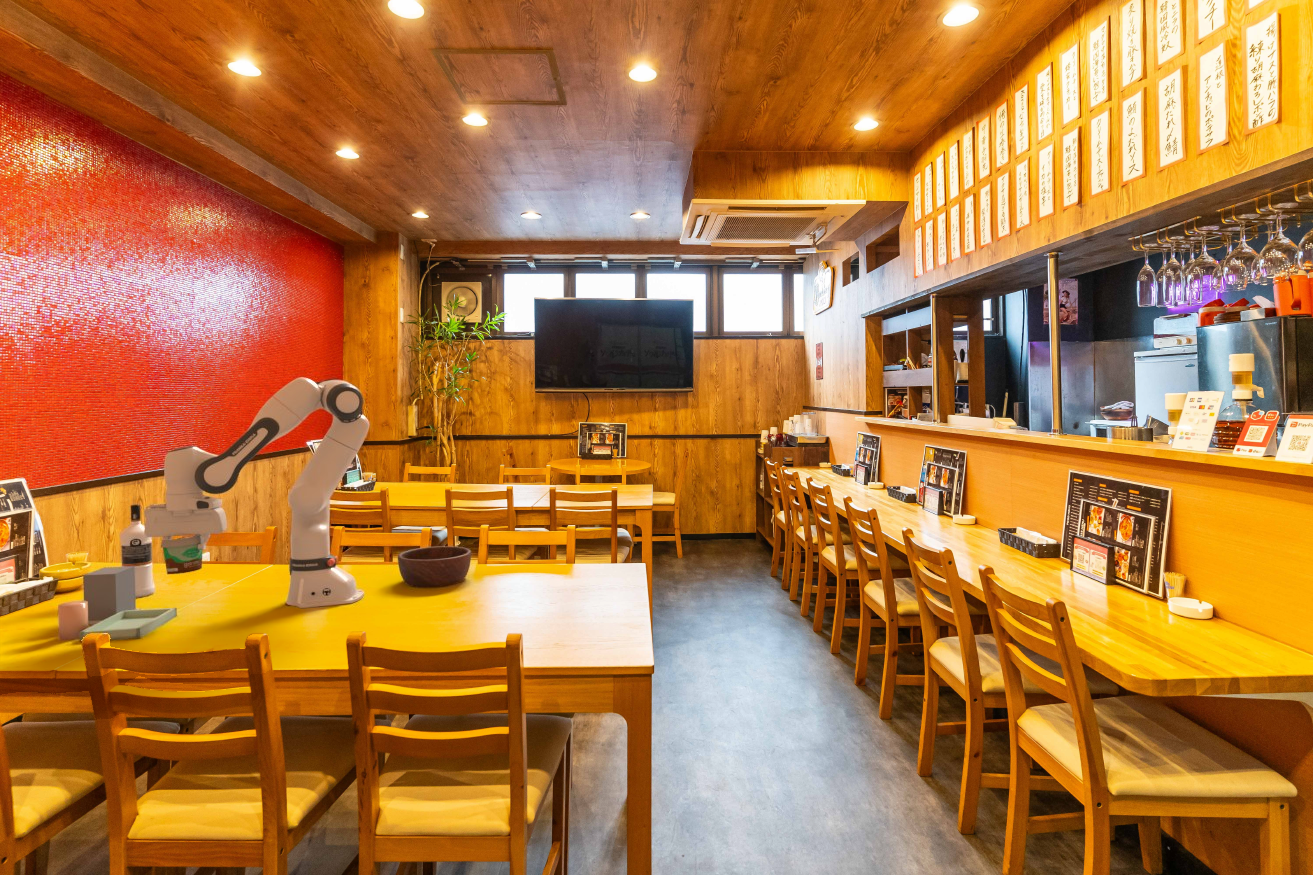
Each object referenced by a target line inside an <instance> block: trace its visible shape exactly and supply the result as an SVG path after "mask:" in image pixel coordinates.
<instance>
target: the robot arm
mask: <svg viewBox="0 0 1313 875" xmlns="http://www.w3.org/2000/svg"><path fill="white" fill-rule="evenodd" d="M363 405H364V398H363V394H362V393H361V391H360V389H359V388H358V387H356V386H355V385H353V384H351V383H349V382H347V381H346V380H341V379H338V378H327V379H323V380H321V381H320V380H319V381H317V382H315V381H314V380H312V379H310V378H307V377H303V376H302V377H296V378H295V379H293V380H292V381H290V382H288V383H286V385H284V386H283V387H281V389H279V390H278V391H277V392H275V393H274V394H273V395H272V396H271V397H270V398H269V399H268V400H267V401H266V402H265V403H264V405H263V406H262V407H261V408H259V411H258V413H257V414H256V415H255V417H254V419H253V421H252V423H251V425H250V426H249V427H248V428H247V430H246V431H245V432H244V433H243V434H242V435H241V436H240V437H239V438H238V439H237V440H236V441H235V442H234V443H232V444H231V446H229V447H228V448H227V449H226V450H225V451H224V452H222V453H221V454H219V455H218V454H214V453H210V452H207V451H206V450H204V449H201V448H199V447H198V446H195V445H189V446H185V447H178V448H174V449H171V450H170V451H167V453H166V454H165V458H164V466H163V467H164V469H163V470H164V472H163V473H164V477H163V478H164V482H165V484H166V490H165V493H164V494H165V503H161V504H160V503H159V504H149V505H148V506H147V507H145V508H144V511H143V516H144V519H145V520H144V534H145V535H146V536H147V537H152V538H159V537H161V538H162V540H172V539H173V537H179V536H182V537H183V536H195V535H201V537H202V538H204V539H203V541H202V543H200V544H198V550H202V551H205V550H206V549H207V543H208V541H209V539H210V538H211V535H215V534H222V533H224V532H225V531H226V530H227V529H228V522H227V515H226V512H225V510H224V508H223V507H221V506H223V499H222V498H221V499H220V498H217V497H213V496H208V495H205V494H204V492H205V493H207V494H211V495H219V494H224V493H226V492H229V491H230V490H231V489H232V488H233V487H234V486H235V485H236V483H237V481H238V478H239V475H240V473H241V471H242V470H243V468H244V467H245V466H246V465H247V464H248V463H249V462H250V461H251V460H252V459H253V458H254V457H256V455H257V454H258V453H260V451H262V450H263V449H264V448H265V447H266V446H268V445H269V444H270V443H272V442H274V441H276V440H277V439H278V440H279V439H281V437H284V436H286V435H287V434H289V433H290V432H291V431H293V430H294V429H295V428H297V427H298V426H299V425H300V424H301V423H302V422H303V421H305V420H306V418H307V417H308V416H309V415H310V414H312V413H313V412H315V411H317V410H319V409H320V410H321V409H323V410H324V411H326V412H327V413H329V414H331V415H332V422H331V425H330V427H329V428H328V430H327V432H326V434H325V435H324V437H323V438H322V440H321V442H320V443H319V444H318V446H317V448H316V450H315V451H314V453H313V454H312V456H311V458H310V459H309V460H308V462H307V464H306V465H305V466H304V469H303V470H302V471H301V473H299V475H298V477H297V479H296V481H295V482H294V484H293V485H292V487H291V488H290V490H289V492H288V494H287V504H288V505H289V507H290V509H291V527H290V557H289V563H288V565H289V568H288V569H289V576H290V582H289V590H288V593H287V598H286V601H285V604H286V605H289V606H294V607H298V608H299V609H307V608H314V607H315V608H316V607H317V608H318V607H325V606H326V607H327V606H335V605H345V604H352V603H353V604H354V603H356V602H358V601H360V600H361V599H362V598H364V596H365V592H364V590H363V589H359V588H358V587H357V582H356V580H355V577H354V576H353V575H352V574H350V573H349V572H347V571H345V570H344V569H342V568H341V567H339V566H337V565H338V564H337V563H338V555H335V556H334V555H332V554H331V552H330V548H331V547H330V546H331V545H330V544H331V543H330V539H331V537H330V519H331V518H330V516H331V515H330V513H331V512H330V511H331V510H330V508H331V507H330V506H331V501H330V500H331V497H332V496H333V494H334V492H335V490H336V489H337V487H338V486H339V485H340V482H341V481H342V479H343V477H344V476H345V474H346V472H347V470H348V469H349V467H350V466H351V464H352V462H353V461H354V459H355V458H356V456H357V454H358V453H359V451H360V450H361V448H362V445H363V443H364V442H365V439H366V436H367V435H368V432H369V428H370V426H371V425H370V421H369V420H368V418H367V416H365V415H364V414H363V407H364V406H363ZM357 588H358V589H357Z"/></svg>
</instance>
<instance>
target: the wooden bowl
mask: <svg viewBox="0 0 1313 875" xmlns="http://www.w3.org/2000/svg"><path fill="white" fill-rule="evenodd" d="M471 560H472V551H471V549H469V548H466V547H462V546H453V545H452V546H450V545H447V546H446V545H445V546H443V545H438V546H427V547H420V548H419V547H417V548H413V549H409V550H404V551H402V552H400V553H399V554H398V555H397V564H398V568H399V574H400V575H401V576H400V577H401V578H402V581H404V583H405V584H406V585H407V586H410V587H412V588H413V587H415V588H438V587H439V588H440V587H447V586H448V587H449V586H453V585H455V584H459V583H460V582H462V581H463V580H465V578H466V576H467V575H468V573H469V570H470V565H471Z"/></svg>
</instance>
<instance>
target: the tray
mask: <svg viewBox="0 0 1313 875" xmlns="http://www.w3.org/2000/svg"><path fill="white" fill-rule="evenodd" d="M177 610H178V609H177V607H168V608H167V607H165V608H147V609H145V608H144V609H141V610H126V611H121V612H119V613H117V614H115V615H113V616H111V617H109V618H107V619H105V620H103V621H101V622H99V623H97V624H94V625H91V626H88V628H87V629H85V630H83V631H81V632H79V639H78V640H79V642H80V643H81V640H82V639H83V637H85V636H86V635H87V634H90V633H108V634H109V635H110V638H111V640H110V641H113V640H115V641H117V640H128V639H129V640H130V639H141V638H143V637H145V636H146V635H148V634H149V633H151V632H153V631H155V630H156V629H158V628H160V627H161V626H163V625H164V624H166V623H168V622H170V621H171V620H174V619H175V618H176V617H177V616H178V611H177ZM124 617H125V618H124ZM122 618H124V619H122ZM120 619H122V620H120ZM119 620H120V621H119Z"/></svg>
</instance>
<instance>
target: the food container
mask: <svg viewBox="0 0 1313 875" xmlns="http://www.w3.org/2000/svg"><path fill="white" fill-rule="evenodd" d="M203 539H204V538H202V537H201V535H191V536H189V537H188V536H187V537H186V536H184V537H183V536H182V537H179V538H178V537H177V538H176V539H173V538H172V539H170V540H163V539H161V543H160V548H162V551H163V556H164V561H165V570H166V575H179V574H185V573H191V572H196V571H199V570H201V569H202V568H203V550H198V544H200V543H202V541H203Z"/></svg>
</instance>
